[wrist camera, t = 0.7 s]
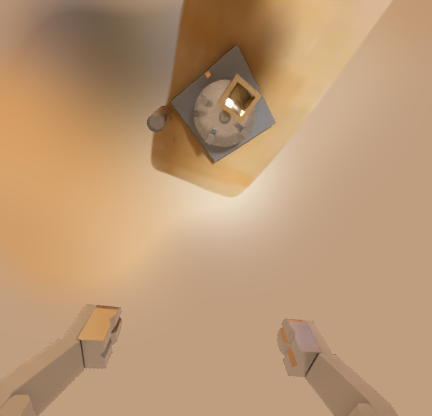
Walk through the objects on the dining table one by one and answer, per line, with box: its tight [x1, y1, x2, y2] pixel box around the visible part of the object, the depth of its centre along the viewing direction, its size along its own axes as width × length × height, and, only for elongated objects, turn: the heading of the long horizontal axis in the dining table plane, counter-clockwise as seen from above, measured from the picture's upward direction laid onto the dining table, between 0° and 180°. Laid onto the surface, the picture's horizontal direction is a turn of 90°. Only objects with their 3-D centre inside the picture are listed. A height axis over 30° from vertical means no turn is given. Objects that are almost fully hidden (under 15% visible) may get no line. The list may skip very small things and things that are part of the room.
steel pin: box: [147, 106, 171, 132], centre depth 43 cm, size 3×3×9 cm
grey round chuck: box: [194, 73, 262, 147], centre depth 41 cm, size 14×13×6 cm
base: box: [170, 45, 276, 162], centre depth 44 cm, size 17×17×4 cm
